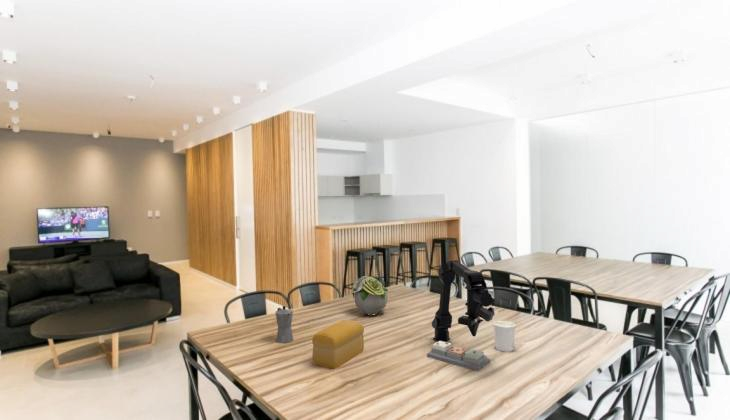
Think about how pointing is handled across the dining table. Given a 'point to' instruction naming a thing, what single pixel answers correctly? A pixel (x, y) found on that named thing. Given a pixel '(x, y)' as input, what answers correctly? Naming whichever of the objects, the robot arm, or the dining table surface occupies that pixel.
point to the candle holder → (504, 335)
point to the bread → (338, 344)
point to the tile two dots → (442, 345)
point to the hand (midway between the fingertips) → (474, 336)
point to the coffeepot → (284, 325)
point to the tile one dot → (474, 354)
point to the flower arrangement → (370, 294)
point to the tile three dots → (457, 351)
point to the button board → (458, 359)
